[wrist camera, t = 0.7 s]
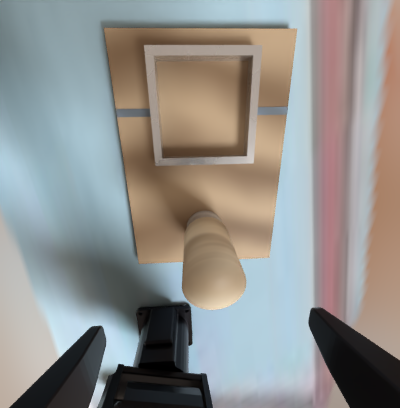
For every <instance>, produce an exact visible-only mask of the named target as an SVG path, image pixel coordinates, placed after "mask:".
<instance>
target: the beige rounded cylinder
mask: <svg viewBox="0 0 400 408" xmlns="http://www.w3.org/2000/svg"><path fill="white" fill-rule="evenodd" d="M245 288H246V277H245V274H244V271H243V269H242V266H241V264H240V261H239V259H238V256H237V254H236V251H235V248H234V246H233V243H232V241H231V238H230V236H229V233H228V231H227V228H226V226H225V225H224V224H223V223H222V221H221V219H220V217H219V216H218V215H217V214H215V213H214V212H211V211H199V212H197V213H195V214H193V215H192V216H191V217H190V219H189V220H188V223H187V229H186V231H185V234H184V254H183V276H182V290H183V293H184V296H185V297H186V299H187V300H188V301H189V302H190V303H191V304H193V305H195V306H196V307H199V308H202V309H207V310H217V309H222V308H225V307H228V306H230V305H232V304H233V303H235V302H236V301H237V300H238V299H239V298H240V297H241V296H242V294H243V293H244V291H245Z"/></svg>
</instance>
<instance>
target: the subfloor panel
mask: <svg viewBox="0 0 400 408" xmlns="http://www.w3.org/2000/svg"><path fill="white" fill-rule="evenodd" d="M104 32H105V39H106V46H107V53H108V59H109V66H110V73H111V79H112V86H113V93H114V100H115V106H116V114H117V120H118V126H119V133H120V140H121V147H122V153H123V160H124V167H125V173H126V180H127V187H128V194H129V200H130V207H131V214H132V220H133V227H134V234H135V241H136V247H137V254H138V261H139V264H147V263H168V262H183V254H184V234H185V231H186V229H187V223H188V220H189V219H190V217H191V216H192V215H193V214H195V213H197V212H199V211H211V212H214V213H215V214H217V215H218V216H219V217H220V219H221V221H222V223H223V224H224V225H225V226H226V228H227V231H228V233H229V236H230V238H231V241H232V243H233V246H234V248H235V251H236V254H237V256H238V259H252V258H269V256H270V248H271V239H272V231H273V223H274V215H275V207H276V198H277V190H278V182H279V174H280V166H281V157H282V149H283V141H284V133H285V125H286V116H287V110H288V100H289V92H290V84H291V75H292V67H293V59H294V51H295V42H296V34H297V29H245V28H104ZM144 45H262V58H261V71H260V85H259V98H258V111H257V125H256V138H255V151H254V163H251V164H212V165H174V166H155V156H154V146H153V135H152V125H151V114H150V104H149V93H148V83H147V72H146V62H145V51H144ZM248 62H249V61H156V63H157V76H158V88H159V101H160V114H161V126H162V139H163V152H164V157H171V156H212V155H243V151H244V133H245V115H246V97H247V80H248Z"/></svg>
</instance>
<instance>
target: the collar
mask: <svg viewBox="0 0 400 408" xmlns="http://www.w3.org/2000/svg"><path fill="white" fill-rule="evenodd" d="M144 51H145V62H146V72H147V83H148V93H149V104H150V114H151V125H152V135H153V146H154V156H155V166H174V165H212V164H251V163H254V151H255V138H256V125H257V111H258V98H259V85H260V71H261V58H262V45H144ZM156 61H249V62H248V80H247V97H246V115H245V133H244V151H243V155H212V156H171V157H164V152H163V139H162V126H161V114H160V101H159V88H158V76H157V63H156Z"/></svg>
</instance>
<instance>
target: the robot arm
mask: <svg viewBox="0 0 400 408" xmlns="http://www.w3.org/2000/svg"><path fill="white" fill-rule="evenodd" d="M140 312H142V313H140ZM136 315H137V321H138V327H139V333H140V339H139V343H138V347H137V352H136V356H135V360H134V364H133V367H130V366H124V365H123V364H118V367H117V370H116V372H115V373H113V374H112V375H110V376H109V377H108V380H107V383H106V386H105V389H104V392H103V395H102V397H101V400H100V402H99V405H98V407H97V408H213V406H212V401H211V395H210V390H209V385H208V380H207V375H206V374H204V373H201V374H194V373H188V346H190V345H192V321H191V307H190V306H188V305H184V306H166V307H149V308H139V309H138V310H137V313H136ZM308 323H309V327H310V330H311V332H312V334H313V336H314V339H315V341H316V343H317V345H318V347H319V350H320V352H321V354H322V356H323V359H324V361H325V363H326V365H327V367H328V369H329V371H330V373H331V375H332V376H333V378H334V380H335V382H336V384H337V385H338V387H339V389H340V391H341V393H342V394H343V396H344V398H345V399H346V402H347V403H348V405H349V407H350V408H400V360H398V359H397V358H395V357H394V356H392V355H391V354H389V353H388V352H386V351H385V350H383V349H382V348H380V347H379V346H378V345H376V344H375V343H373V342H371V341H370V340H369V339H367V338H366V337H364V336H363V335H361V334H360V333H358V332H357V331H355V330H354V329H353V328H351V327H350V326H348V325H347V324H345V323H344V322H342V321H341V320H339V319H338V318H336V317H335V316H333V315H332V314H330V313H329V312H327V311H326V310H324V309H323V308H320V307H317V308H312V309H311V310H310V316H309V322H308ZM105 347H106V337H105V333H104V329H103V327H102V326H92V327H91V328H89V329H88V330H87V331H86V332H85V333H84V334H83V335H82V336H81V337H80V338H79V339H78V340H77V341H76V342H75V343H74V344H73V345H72V346H71V347H70V348H69V349H68V350H67V351H66V352H65V353H64V354H63V355H62V356H61V357H60V358H59V359H58V360H57V361H56V362H55V363H54V364H53V365H52V366H51V367H50V368H49V369H48V370H47V371H46V372H45V373H44V374H43V375H42V376H41V377H40V378H39V379H38V380H37V381H36V382H35V383H34V384H33V385H32V386H31V387H30V388H29V389H28V390H27V391H26V392H25V393H24V394H23V395H22V396H21V397H20V398H19V399H18V400H17V401H16V402H15V403H13V405H11V406H10V407H9V408H88V407H89V405H90V402H91V399H92V396H93V393H94V389H95V386H96V382H97V378H98V374H99V370H100V367H101V363H102V359H103V355H104V351H105Z"/></svg>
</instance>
